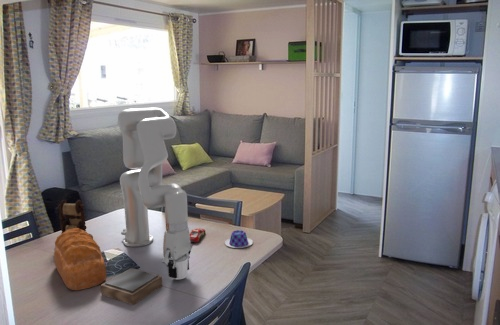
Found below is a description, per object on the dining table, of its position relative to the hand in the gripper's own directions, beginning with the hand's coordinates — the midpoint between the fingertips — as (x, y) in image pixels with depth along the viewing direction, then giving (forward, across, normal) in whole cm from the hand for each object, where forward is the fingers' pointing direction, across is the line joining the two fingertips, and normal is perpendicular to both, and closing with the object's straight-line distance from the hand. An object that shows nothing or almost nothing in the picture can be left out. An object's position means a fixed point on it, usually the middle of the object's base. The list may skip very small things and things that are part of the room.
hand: (178, 272), depth 151 cm
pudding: (+3, -38, +3) cm, 38 cm away
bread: (+4, +13, -35) cm, 38 cm away
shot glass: (+1, 0, 0) cm, 1 cm away
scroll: (+4, -5, -59) cm, 60 cm away
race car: (+4, -35, -17) cm, 39 cm away
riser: (+3, +13, -9) cm, 16 cm away
